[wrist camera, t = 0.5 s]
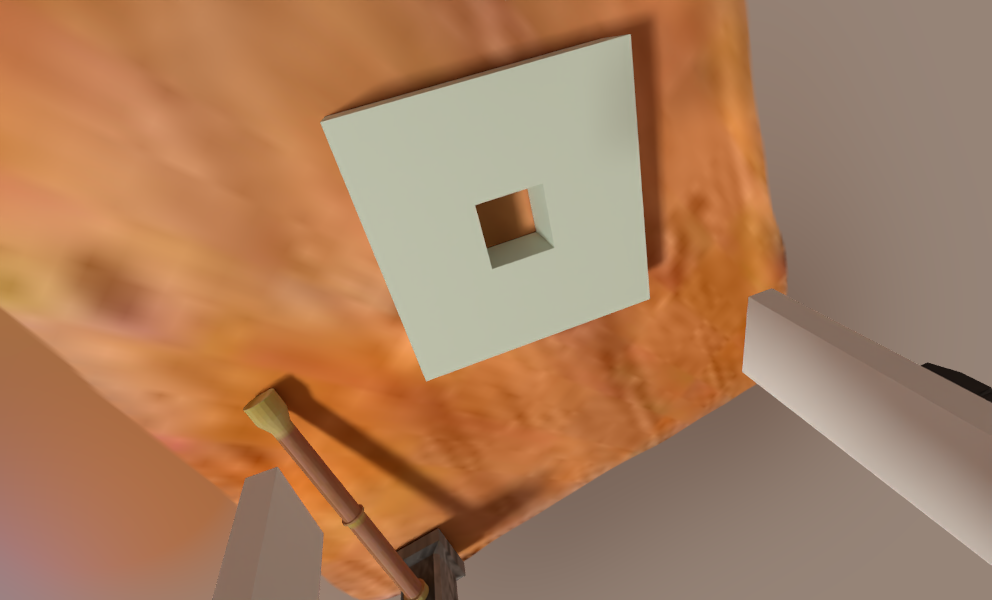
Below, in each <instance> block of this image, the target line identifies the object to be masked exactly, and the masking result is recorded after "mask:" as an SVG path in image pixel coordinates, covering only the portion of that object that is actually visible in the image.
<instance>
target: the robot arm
mask: <svg viewBox="0 0 992 600" xmlns="http://www.w3.org/2000/svg"><path fill="white" fill-rule="evenodd" d="M742 372H743V373H744V374H746V375H747V376H748V377H750V378H751V379H752V380H753V381H755V382H756V383H757V384H759V385H760V386H761V387H762V388H764V389H765V390H766V391H768V392H769V393H770V394H771V395H773V396H774V397H776V398H777V399H778V400H779V401H780V402H782V403H783V404H784V405H786V406H787V407H788V408H789V409H791V410H792V411H793V412H795V413H796V414H797V415H798V416H800V417H801V418H802V419H804V420H805V421H806V422H807V423H809V424H810V425H811V426H813V427H814V428H815V429H817V430H818V431H819V432H820V433H822V434H823V435H824V436H825V437H827V438H828V439H829V440H831V441H832V442H833V443H835V444H836V445H837V446H838V447H840V448H841V449H842V450H844V451H845V452H846V453H847V454H849V455H850V456H851V457H853V458H854V459H855V460H856V461H858V462H859V463H860V464H862V465H863V466H864V467H865V468H867V469H868V470H869V471H871V472H872V473H873V474H874V475H876V476H877V477H878V478H880V479H881V480H882V481H883V482H885V483H886V484H887V485H889V486H890V487H891V488H892V489H894V490H895V491H896V492H898V493H899V494H900V495H902V496H903V497H904V498H905V499H907V500H908V501H909V502H910V503H912V504H913V505H915V506H916V507H917V508H918V509H919V510H921V511H922V512H923V513H925V514H926V515H927V516H928V517H930V518H931V519H932V520H934V521H935V522H936V523H938V524H939V525H940V526H942V527H943V528H944V529H945V530H947V531H948V532H949V533H950V534H952V535H953V536H954V537H956V538H957V539H958V540H959V541H961V542H962V543H963V544H965V545H966V546H967V547H968V548H970V549H971V550H972V551H974V552H975V553H976V554H977V555H979V556H980V557H981V558H983V559H984V560H985V561H986V562H988V563H989V564H990V565H992V388H991V387H989V386H987V385H985V384H983V383H981V382H979V381H977V380H975V379H973V378H971V377H969V376H967V375H965V374H963V373H960V372H957V371H954V370H951V369H947V368H944V367H941V366H937V365H934V364H931V363H925V364H923V365H921V366H920V365H918V364H916V363H914V362H912V361H910V360H909V359H907V358H905V357H903V356H901V355H899V354H897V353H895V352H893V351H891V350H889V349H887V348H885V347H884V346H882V345H880V344H878V343H876V342H874V341H872V340H870V339H868V338H866V337H864V336H862V335H861V334H859V333H857V332H855V331H853V330H851V329H849V328H847V327H845V326H843V325H841V324H839V323H837V322H836V321H834V320H832V319H830V318H828V317H826V316H824V315H822V314H820V313H818V312H816V311H814V310H812V309H811V308H809V307H807V306H805V305H803V304H801V303H799V302H797V301H795V300H793V299H791V298H789V297H788V296H786V295H784V294H782V293H780V292H778V291H776V290H774V289H769V290H766V291H764V292H761V293H758V294H755V295H752V296H750V297H749V298H748V310H747V322H746V334H745V346H744V358H743V370H742ZM322 548H323V532H322V531H321V529H320V528H319V526H318V525H317V523H316V522H315V521H314V519H313V518H312V516H311V515H310V513H309V512H308V510H307V509H306V507H305V506H304V504H303V503H302V502H301V500H300V499H299V497H298V496H297V494H296V493H295V491H294V490H293V488H292V487H291V486H290V484H289V483H288V481H287V480H286V478H285V477H284V475H283V474H282V472H281V471H280V470H279V468H278V467H276V468H273V469H270V470H267V471H265V472H262V473H259V474H256V475H253V476H251V477H248V478H245V482H244V485H243V489H242V492H241V496H240V500H239V503H238V507H237V511H236V514H235V519H234V522H233V525H232V529H231V533H230V536H229V540H228V544H227V547H226V551H225V555H224V558H223V562H222V566H221V570H220V573H219V577H218V581H217V584H216V588H215V592H214V595H213V599H212V600H319V590H320V576H321V562H322Z"/></svg>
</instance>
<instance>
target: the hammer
mask: <svg viewBox="0 0 992 600" xmlns="http://www.w3.org/2000/svg"><path fill="white" fill-rule="evenodd" d="M243 410H244V411H245V413H246V414H247V415H248V416H249V417H250V419H251V420H252V421H253V422H254V423H255V425H256V426H257V427H259V428H261V429H263V430H265V431H268V432H270V433H272V434H273V435H274V437H275V438H276V439H277V440H278V441H279V443H280V444H281V445H282V446H283V448H284V449H285V450H286V451H287V452H288V454H289V455H290V456H291V457H292V459H293V460H294V461H295V462H296V463H297V465H298V466H299V467H300V468H301V469H302V471H303V472H304V473H305V474H306V476H307V477H308V478H309V479H310V480H311V482H312V483H313V484H314V485H315V487H316V488H317V489H318V490H319V491H320V493H321V494H322V495H323V496H324V497H325V499H326V500H327V501H328V502H329V504H330V505H331V506H332V507H333V508H334V510H335V511H336V512H337V513H338V515H339V516H340V517H341V518H342V523H343V525H344V526H348V527H349V528H350V529H351V530H352V532H353V533H354V534H355V535H356V536H357V538H358V539H359V540H360V541H361V543H362V544H363V545H364V546H365V547H366V549H367V550H368V551H369V552H370V553H371V555H372V556H373V557H374V558H375V560H376V561H377V562H378V563H379V564H380V566H381V567H382V568H383V569H384V571H385V572H386V573H387V574H388V575H389V577H390V578H391V579H392V580H393V581H394V583H395V584H396V585H397V586H398V588H399V589H400V590H401V600H458V594H457V584H456V581H457V580H458V579H460V578H462V577H463V576H465V568H464V562H463V561H462V559H461V558H460V557H459V555H458V554H457V553H456V551H455V550H454V549H453V547H452V546H451V544H450V543H449V542H448V540H447V539H446V538H445V536H444V535H443V534H442V532H441V531H440V530H439V528H438V529H436V530H434V531H432V532H431V533H429V534H427V535H425V536H424V537H422V538H420V539H418V540H417V541H415V542H413V543H411V544H410V545H408V546H406V547H404V548H403V549H401V550H399V551H397V552H396V551H395V549H394V548H393V547H392V546H391V545H390V543H389V542H388V541H387V540H386V538H385V537H384V536H383V535H382V533H381V532H380V531H379V530H378V528H377V527H376V526H375V525H374V523H373V522H372V521H371V520H370V518H369V517H368V516H367V515H366V513H365V512H364V507H363V506H362V505H360V504H359V505H358V504H357V502H356V501H355V500H354V499H353V497H352V496H351V495H350V494H349V492H348V491H347V490H346V489H345V487H344V486H343V485H342V484H341V482H340V481H339V480H338V479H337V477H336V476H335V475H334V474H333V473H332V471H331V470H330V469H329V468H328V466H327V465H326V464H325V463H324V461H323V460H322V459H321V458H320V456H319V455H318V454H317V453H316V451H315V450H314V449H313V448H312V446H311V445H310V444H309V443H308V441H307V440H306V439H305V438H304V437H303V435H302V434H301V433H300V432H299V430H298V429H297V428H296V427H295V425H294V424H293V423H292V422H291V420H290V417H289V413H288V408H287V405H286V404H285V402H284V401H283V400H282V399H281V397H280V396H279V395H278V394H277V392H276V391H275V390H274V389H273V388H272V389H269V390H267V391H265V392H264V393H262V394H260V395H258V396H257V397H255V398H254V399H252V400H251V401H250V402H249V403H248V404H247V405H246V406H245V407H244V408H243Z"/></svg>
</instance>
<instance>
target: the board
mask: <svg viewBox="0 0 992 600" xmlns="http://www.w3.org/2000/svg"><path fill="white" fill-rule="evenodd" d="M320 123H321V125H322V128H323V130H324V133H325V135H326V138H327V140H328V142H329V145H330V147H331V150H332V152H333V155H334V157H335V159H336V162H337V164H338V167H339V169H340V172H341V174H342V177H343V179H344V181H345V184H346V186H347V189H348V191H349V194H350V196H351V199H352V201H353V203H354V206H355V208H356V211H357V213H358V216H359V218H360V221H361V223H362V225H363V228H364V230H365V233H366V235H367V238H368V240H369V243H370V245H371V247H372V250H373V252H374V255H375V257H376V260H377V262H378V264H379V267H380V269H381V272H382V274H383V277H384V279H385V282H386V284H387V286H388V289H389V291H390V294H391V296H392V299H393V301H394V304H395V306H396V308H397V311H398V313H399V316H400V318H401V321H402V323H403V326H404V328H405V330H406V333H407V335H408V338H409V340H410V343H411V345H412V348H413V350H414V352H415V355H416V357H417V360H418V362H419V365H420V367H421V369H422V372H423V374H424V377H425V379H426V381H428V380H431V379H434V378H437V377H439V376H442V375H445V374H447V373H450V372H453V371H456V370H458V369H461V368H464V367H466V366H469V365H472V364H475V363H477V362H480V361H483V360H485V359H488V358H491V357H494V356H496V355H499V354H502V353H504V352H507V351H510V350H513V349H515V348H518V347H521V346H523V345H526V344H529V343H532V342H534V341H537V340H540V339H542V338H545V337H548V336H551V335H553V334H556V333H559V332H561V331H564V330H567V329H570V328H572V327H575V326H578V325H580V324H583V323H586V322H589V321H591V320H594V319H597V318H599V317H602V316H605V315H608V314H610V313H613V312H616V311H618V310H621V309H624V308H627V307H629V306H632V305H635V304H637V303H640V302H643V301H646V300H648V299H650V294H649V280H648V267H647V253H646V239H645V225H644V211H643V197H642V183H641V169H640V156H639V142H638V128H637V114H636V100H635V86H634V72H633V58H632V45H631V34H627V35H620V36H614V37H607V38H601V39H597V40H594V41H590V42H587V43H583V44H580V45H576V46H573V47H569V48H566V49H562V50H559V51H555V52H552V53H548V54H544V55H541V56H537V57H534V58H530V59H527V60H523V61H520V62H516V63H513V64H509V65H506V66H502V67H499V68H495V69H492V70H488V71H484V72H481V73H477V74H474V75H470V76H467V77H463V78H460V79H456V80H453V81H449V82H446V83H442V84H439V85H435V86H432V87H428V88H424V89H421V90H417V91H414V92H410V93H407V94H403V95H400V96H396V97H393V98H389V99H386V100H382V101H379V102H375V103H372V104H368V105H364V106H361V107H357V108H354V109H350V110H347V111H343V112H340V113H336V114H333V115H329V116H326V117H324V118H323V119H322V121H321V122H320ZM524 189H528V193H529V198H530V203H531V208H532V213H533V218H534V223H535V228H536V232H534V233H531V234H528V235H525V236H522V237H519V238H516V239H513V240H510V241H508V242H505V243H502V244H499V245H496V246H493V247H490V248H486V244H485V240H484V237H483V233H482V229H481V225H480V222H479V218H478V214H477V211H476V207H475V205H477V204H480V203H484V202H487V201H490V200H493V199H496V198H499V197H502V196H505V195H508V194H512V193H515V192H518V191H521V190H524Z"/></svg>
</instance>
